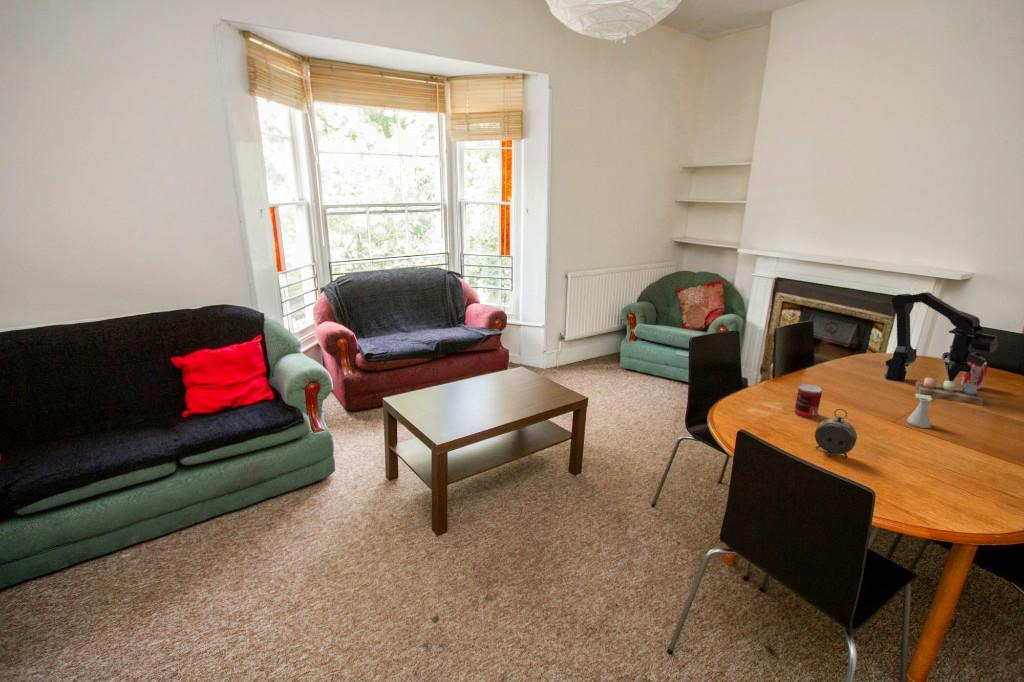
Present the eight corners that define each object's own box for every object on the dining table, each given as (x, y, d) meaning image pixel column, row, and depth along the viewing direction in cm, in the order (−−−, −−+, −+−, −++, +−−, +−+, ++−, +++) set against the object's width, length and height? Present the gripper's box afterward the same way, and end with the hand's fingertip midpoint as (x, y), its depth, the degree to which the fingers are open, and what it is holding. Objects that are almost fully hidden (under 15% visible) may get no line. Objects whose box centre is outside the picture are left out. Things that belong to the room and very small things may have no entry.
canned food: (815, 412, 189) (820, 385, 186) (818, 420, 182) (823, 393, 179) (793, 408, 192) (798, 382, 189) (794, 416, 185) (800, 389, 182)
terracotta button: (923, 388, 209) (925, 379, 208) (921, 386, 212) (924, 376, 211) (935, 390, 207) (937, 381, 206) (933, 387, 210) (936, 378, 209)
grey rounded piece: (962, 395, 203) (965, 385, 202) (960, 392, 206) (963, 382, 205) (975, 397, 201) (978, 387, 200) (973, 394, 204) (976, 384, 203)
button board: (919, 394, 207) (920, 389, 206) (914, 386, 217) (916, 380, 216) (981, 405, 197) (983, 399, 197) (974, 395, 207) (975, 390, 206)
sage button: (942, 392, 206) (945, 382, 205) (940, 389, 209) (943, 379, 208) (955, 394, 204) (957, 384, 203) (952, 391, 207) (955, 381, 206)
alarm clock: (852, 457, 157) (863, 411, 152) (849, 464, 153) (860, 416, 148) (813, 446, 163) (822, 401, 159) (810, 452, 160) (819, 406, 155)
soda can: (985, 390, 213) (993, 364, 210) (969, 390, 213) (977, 364, 210) (971, 384, 220) (978, 359, 216) (955, 384, 220) (962, 359, 216)
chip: (916, 398, 203) (917, 397, 203) (915, 394, 208) (915, 393, 207) (932, 401, 201) (932, 399, 201) (930, 397, 205) (930, 395, 205)
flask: (925, 421, 182) (932, 397, 179) (934, 430, 176) (941, 404, 173) (902, 418, 185) (909, 394, 182) (910, 427, 178) (917, 401, 175)
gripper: (993, 355, 189) (982, 392, 194) (980, 343, 204) (970, 378, 209) (956, 350, 195) (945, 386, 199) (946, 339, 210) (937, 373, 214)
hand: (950, 381), depth 205 cm, fingers closed
